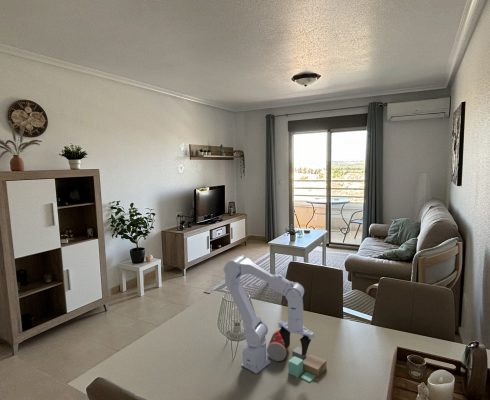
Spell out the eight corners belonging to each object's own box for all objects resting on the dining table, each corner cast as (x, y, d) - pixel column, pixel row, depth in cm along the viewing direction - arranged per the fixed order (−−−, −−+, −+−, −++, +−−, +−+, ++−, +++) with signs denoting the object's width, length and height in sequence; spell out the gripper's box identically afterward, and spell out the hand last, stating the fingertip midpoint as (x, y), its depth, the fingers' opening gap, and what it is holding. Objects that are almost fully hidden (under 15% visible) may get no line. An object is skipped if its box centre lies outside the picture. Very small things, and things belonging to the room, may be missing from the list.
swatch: (309, 382, 116) (309, 381, 116) (300, 377, 119) (300, 376, 119) (315, 376, 119) (315, 375, 119) (306, 372, 122) (306, 371, 122)
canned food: (290, 348, 138) (285, 363, 128) (272, 344, 141) (266, 359, 130) (290, 331, 138) (286, 345, 127) (272, 328, 140) (267, 341, 130)
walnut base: (317, 378, 119) (317, 369, 118) (301, 370, 123) (301, 362, 123) (326, 369, 124) (326, 360, 124) (310, 362, 128) (310, 354, 128)
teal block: (297, 377, 119) (297, 365, 118) (288, 373, 122) (288, 360, 121) (303, 372, 122) (303, 360, 121) (294, 368, 125) (294, 356, 124)
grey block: (301, 366, 125) (300, 354, 125) (292, 362, 128) (292, 350, 128) (306, 361, 128) (306, 350, 128) (297, 357, 131) (297, 346, 131)
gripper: (317, 318, 118) (318, 352, 119) (285, 307, 127) (285, 339, 129) (308, 325, 112) (308, 361, 114) (275, 313, 122) (275, 347, 123)
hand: (295, 350), depth 121 cm, fingers open, 7 cm apart
